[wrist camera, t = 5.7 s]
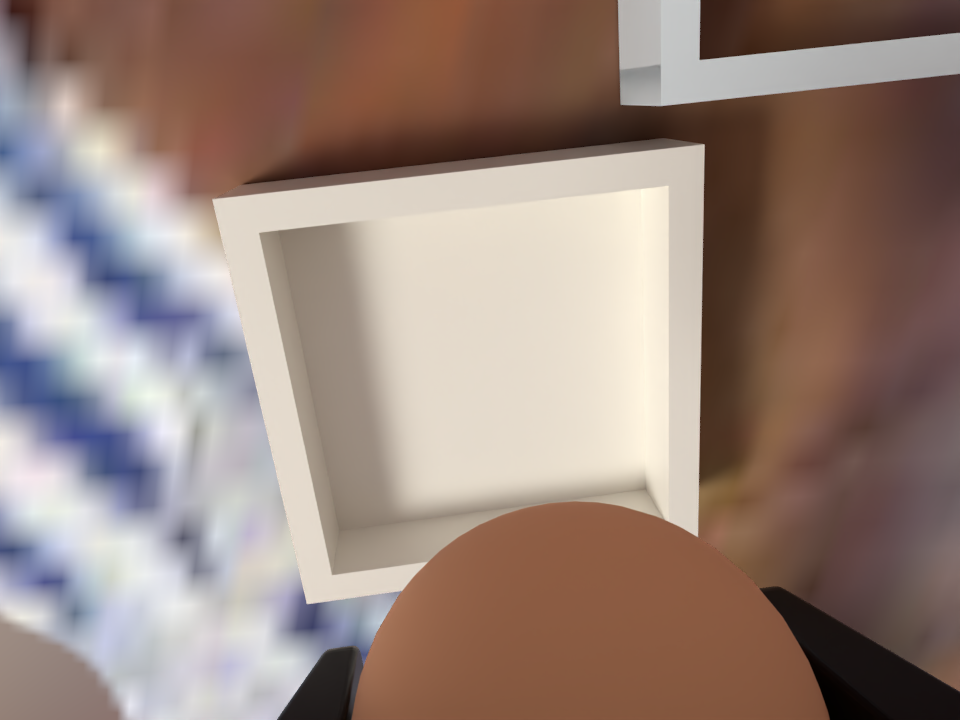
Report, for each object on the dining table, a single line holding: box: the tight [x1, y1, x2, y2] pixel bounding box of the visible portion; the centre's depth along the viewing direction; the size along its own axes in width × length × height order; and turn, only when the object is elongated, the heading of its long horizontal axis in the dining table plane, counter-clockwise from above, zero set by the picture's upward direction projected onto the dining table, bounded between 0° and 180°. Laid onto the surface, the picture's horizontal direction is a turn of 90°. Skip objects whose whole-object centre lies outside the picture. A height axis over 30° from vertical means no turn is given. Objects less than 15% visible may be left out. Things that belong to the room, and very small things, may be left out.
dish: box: [212, 138, 705, 604], centre depth 18 cm, size 11×11×3 cm
